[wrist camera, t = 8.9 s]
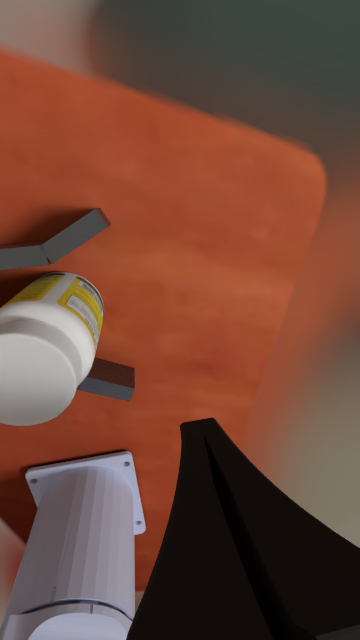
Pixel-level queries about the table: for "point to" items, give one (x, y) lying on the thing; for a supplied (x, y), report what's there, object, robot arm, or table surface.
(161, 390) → the table surface
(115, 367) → the u holder
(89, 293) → the supplement bottle
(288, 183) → the table surface
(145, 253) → the table surface
